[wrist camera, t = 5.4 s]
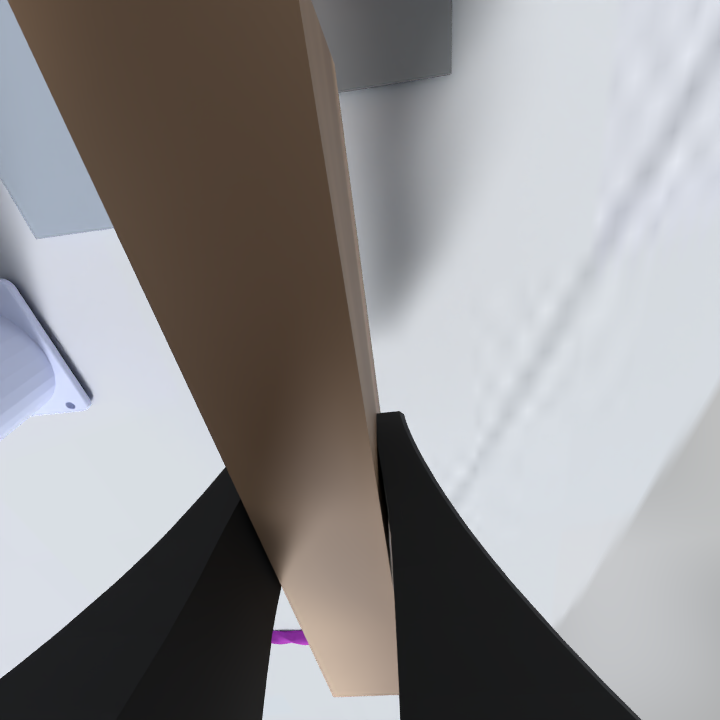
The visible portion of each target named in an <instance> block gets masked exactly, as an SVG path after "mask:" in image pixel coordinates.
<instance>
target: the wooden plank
mask: <svg viewBox="0 0 720 720" xmlns="http://www.w3.org/2000/svg"><path fill="white" fill-rule="evenodd" d="M7 1H8V3H9V5H10V7H11V9H12V11H13V13H14V16H15V18H16V20H17V22H18V24H19V26H20V28H21V31H22V33H23V35H24V37H25V39H26V41H27V43H28V45H29V48H30V50H31V52H32V54H33V56H34V58H35V60H36V63H37V65H38V67H39V69H40V71H41V73H42V75H43V78H44V80H45V82H46V84H47V86H48V88H49V90H50V92H51V95H52V97H53V99H54V101H55V103H56V105H57V107H58V110H59V112H60V114H61V116H62V118H63V120H64V122H65V125H66V127H67V129H68V131H69V133H70V135H71V137H72V139H73V142H74V144H75V146H76V148H77V150H78V152H79V154H80V157H81V159H82V161H83V163H84V165H85V167H86V169H87V172H88V174H89V176H90V178H91V180H92V182H93V184H94V186H95V189H96V191H97V193H98V195H99V197H100V199H101V201H102V204H103V206H104V208H105V210H106V212H107V214H108V216H109V219H110V221H111V223H112V225H113V227H114V229H115V231H116V233H117V236H118V238H119V240H120V242H121V244H122V246H123V248H124V251H125V253H126V255H127V257H128V259H129V261H130V263H131V266H132V268H133V270H134V272H135V274H136V276H137V278H138V280H139V283H140V285H141V287H142V289H143V291H144V293H145V295H146V298H147V300H148V302H149V304H150V306H151V308H152V310H153V313H154V315H155V317H156V319H157V321H158V323H159V325H160V327H161V330H162V332H163V334H164V336H165V338H166V340H167V342H168V345H169V347H170V349H171V351H172V353H173V355H174V357H175V360H176V362H177V364H178V366H179V368H180V370H181V372H182V374H183V377H184V379H185V381H186V383H187V385H188V387H189V389H190V392H191V394H192V396H193V398H194V400H195V402H196V404H197V407H198V409H199V411H200V413H201V415H202V417H203V419H204V421H205V424H206V426H207V428H208V430H209V432H210V434H211V436H212V439H213V441H214V443H215V445H216V447H217V449H218V451H219V453H220V456H221V458H222V460H223V462H224V464H225V466H226V468H227V471H228V473H229V475H230V477H231V479H232V481H233V483H234V486H235V488H236V490H237V492H238V494H239V496H240V498H241V500H242V503H243V505H244V507H245V509H246V511H247V513H248V515H249V518H250V520H251V522H252V524H253V526H254V528H255V530H256V533H257V535H258V537H259V539H260V541H261V543H262V545H263V547H264V550H265V552H266V554H267V556H268V558H269V560H270V562H271V565H272V567H273V569H274V571H275V573H276V575H277V577H278V580H279V582H280V584H281V586H282V588H283V590H284V592H285V594H286V597H287V599H288V601H289V603H290V605H291V607H292V609H293V612H294V614H295V616H296V618H297V620H298V622H299V624H300V627H301V629H302V631H303V633H304V635H305V637H306V639H307V641H308V644H309V646H310V648H311V650H312V652H313V654H314V656H315V659H316V661H317V663H318V665H319V667H320V669H321V671H322V674H323V676H324V678H325V680H326V682H327V684H328V686H329V688H330V691H331V693H332V695H333V697H352V696H379V695H399V681H398V660H397V640H396V620H395V601H394V583H393V565H392V547H391V533H390V527H389V521H388V514H387V508H386V501H385V494H384V487H383V480H382V474H381V467H380V460H379V453H378V446H377V425H376V417H377V413H380V406H379V398H378V391H377V383H376V375H375V368H374V360H373V353H372V345H371V337H370V330H369V322H368V315H367V307H366V300H365V292H364V284H363V277H362V269H361V262H360V254H359V246H358V239H357V231H356V224H355V216H354V209H353V201H352V193H351V186H350V178H349V171H348V163H347V155H346V148H345V140H344V133H343V125H342V117H341V110H340V102H339V95H338V87H337V80H336V72H335V64H334V62H333V59H332V56H331V53H330V51H329V48H328V45H327V42H326V39H325V37H324V34H323V31H322V28H321V26H320V23H319V20H318V17H317V15H316V12H315V9H314V6H313V4H312V1H311V0H7Z"/></svg>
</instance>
